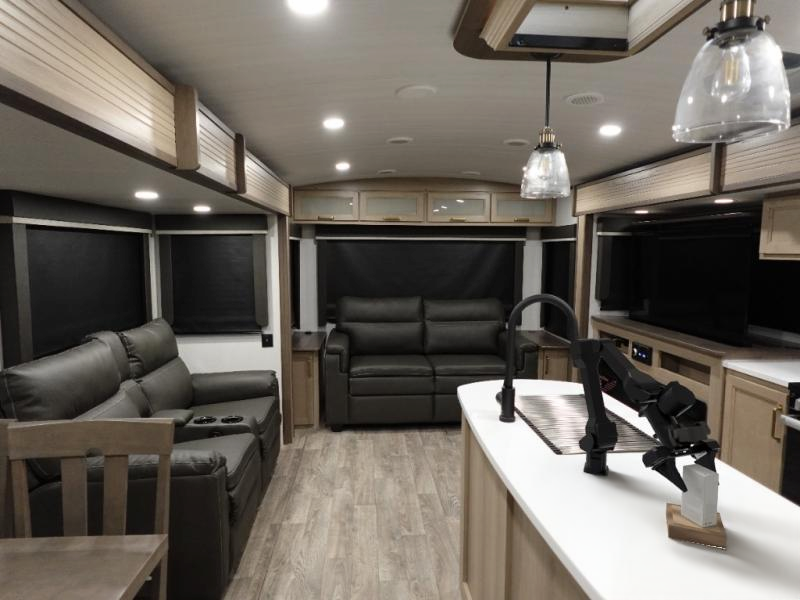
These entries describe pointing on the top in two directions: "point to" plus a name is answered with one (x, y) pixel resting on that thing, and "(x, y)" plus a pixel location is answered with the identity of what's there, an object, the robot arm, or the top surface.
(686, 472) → the skincare box
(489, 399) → the top surface
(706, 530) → the walnut tray
